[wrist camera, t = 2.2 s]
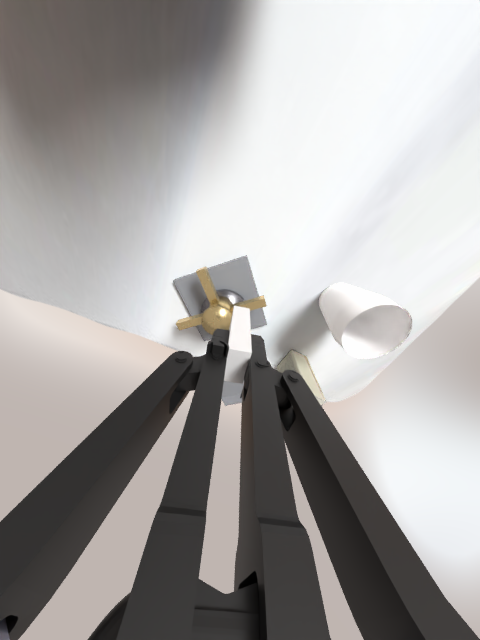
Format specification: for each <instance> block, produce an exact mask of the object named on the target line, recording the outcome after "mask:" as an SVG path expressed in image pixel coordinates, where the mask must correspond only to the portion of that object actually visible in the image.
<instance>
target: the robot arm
mask: <svg viewBox="0 0 480 640" xmlns="http://www.w3.org/2000/svg"><path fill="white" fill-rule="evenodd" d="M224 381H228V382H234V383H240V384H243V381H244V386H243V389H242V392H241V396H240V398H242V421H241V462H240V464H241V465H240V502H239V538H238V546H237V553H236V561H235V581H234V592H232V593H230V594H224V593H222V592H220V591H218V590H216V589H215V588H213V587H211V586H210V585H208V584H206V583H205V582H203V581H201V580H200V579H198V577H199V570H200V563H201V555H202V548H203V540H204V532H205V524H206V509H207V500H208V493H209V486H210V479H211V471H212V464H213V456H214V449H215V442H216V435H217V427H218V420H219V413H220V405H221V398H222V391H223V383H224ZM191 390H195V393H194V396H193V399H192V403H191V406H190V409H189V413H188V416H187V419H186V423H185V426H184V429H183V432H182V436H181V439H180V442H179V446H178V449H177V452H176V456H175V459H174V463H173V466H172V469H171V472H170V476H169V479H168V482H167V485H166V489H165V492H164V495H163V499H162V502H161V504H160V507H159V508H158V511H157V513H156V515H155V518H154V520H153V523H152V527H151V530H150V533H149V536H148V539H147V542H146V545H145V549H144V552H143V555H142V559H141V562H140V565H139V568H138V571H137V575H136V578H135V581H134V584H133V588H132V591H131V593H129V594H128V595H127V596H125V597H124V598H123V599H122V600H121V601H120V602H119V603H118V604H117V605H116V606H115V607H114V608H113V609H112V610H111V611H110V612H109V613H108V615H107V616H106V617H105V618H104V619H103V620H102V622H101V623H100V624H99V626H98V627H97V628H96V629H95V631H94V632H93V633H92V635H91V636H90V637H89V639H88V640H331V638H330V635H329V630H328V625H327V621H326V615H325V610H324V605H323V601H322V595H321V591H320V586H319V581H318V576H317V571H316V566H315V561H314V556H313V551H312V547H311V543H310V539H309V536H308V534H307V531H306V529H305V528H304V526H303V525H302V524H301V523H300V521H299V518H298V515H297V511H296V505H295V499H294V494H293V489H292V482H291V476H290V471H289V465H288V460H287V454H286V448H285V443H286V445H287V448H288V450H289V453H290V456H291V458H292V461H293V464H294V466H295V469H296V471H297V474H298V476H299V479H300V481H301V484H302V487H303V489H304V492H305V494H306V497H307V500H308V502H309V505H310V507H311V510H312V513H313V515H314V518H315V520H316V523H317V526H318V528H319V530H320V533H321V536H322V539H323V541H324V544H325V546H326V549H327V552H328V554H329V557H330V559H331V562H332V564H333V567H334V570H335V572H336V575H337V577H338V580H339V582H340V585H341V588H342V590H343V593H344V595H345V598H346V600H347V603H348V605H349V607H350V610H351V612H352V615H353V617H354V619H355V622H356V624H357V626H358V628H359V630H360V632H361V634H362V637H363V639H364V640H480V639H479V638H478V637H477V635H476V634H475V633H474V632H473V631H472V629H471V628H470V627H469V626H468V625H467V623H466V622H465V621H464V620H463V619H462V618H461V616H460V615H459V614H458V613H457V611H456V610H455V609H454V608H453V607H452V605H451V604H450V603H449V602H448V601H447V599H446V598H445V597H444V595H443V594H442V592H441V591H440V589H439V587H438V586H437V584H436V583H435V581H434V580H433V578H432V577H431V575H430V574H429V572H428V570H427V569H426V567H425V566H424V564H423V563H422V561H421V560H420V558H419V556H418V555H417V554H416V552H415V551H414V549H413V547H412V546H411V544H410V543H409V541H408V540H407V538H406V536H405V535H404V533H403V532H402V530H401V529H400V527H399V526H398V524H397V523H396V521H395V519H394V518H393V516H392V515H391V513H390V512H389V510H388V509H387V507H386V505H385V504H384V502H383V501H382V499H381V498H380V496H379V495H378V493H377V492H376V490H375V488H374V487H373V486H372V484H371V482H370V481H369V479H368V478H367V476H366V474H365V473H364V471H363V470H362V468H361V467H360V465H359V464H358V462H357V461H356V459H355V457H354V456H353V454H352V453H351V451H350V450H349V448H348V447H347V445H346V444H345V442H344V441H343V439H342V437H341V436H340V434H339V433H338V432H337V430H336V428H335V426H334V425H333V423H332V422H331V420H330V419H329V417H328V416H327V414H326V413H325V411H324V409H323V408H322V406H321V405H320V403H319V402H318V400H317V399H316V397H315V396H314V394H313V392H312V391H311V389H310V388H309V386H308V385H307V383H306V382H305V380H304V379H303V377H302V376H301V375H300V374H299V373H298V372H296V371H294V370H285V371H284V372H283V373H281V372H279V371H277V370H275V369H273V368H272V367H271V365H270V363H269V362H268V361H267V358H266V351H265V345H264V340H263V339H262V337H261V336H258V335H252V334H251V325H250V309H249V308H244V307H239V306H234V308H233V313H232V318H231V323H230V327H229V330H224V329H219V328H217V329H216V330H215V331H214V333H213V336H212V340H211V341H209V342H208V345H207V352H206V354H205V355H203V356H200V357H193V356H192V355H191V354H190V353H188V352H185V351H178V352H175V353H173V354H172V355H170V356H169V357H168V358H167V359H166V360H165V361H164V362H163V363H162V364H161V365H160V366H159V367H158V368H157V369H156V370H155V371H154V372H153V373H152V374H151V375H150V376H149V377H148V378H147V379H146V380H145V381H144V382H143V383H142V384H141V385H140V386H139V387H138V388H137V389H136V390H135V391H134V392H133V393H132V394H131V395H130V396H129V397H127V398H126V399H125V400H124V401H123V402H122V403H121V404H120V405H119V406H118V407H117V408H116V409H115V410H114V411H113V412H112V413H111V414H110V415H109V416H108V417H107V418H106V419H105V420H104V421H103V422H102V423H101V424H100V425H99V426H98V427H97V428H96V429H95V430H94V431H93V432H92V433H91V434H90V435H89V436H88V437H87V438H86V439H85V440H83V442H82V443H80V445H78V446H77V447H76V448H75V449H74V450H73V451H72V452H71V453H70V454H69V455H68V456H67V457H66V458H65V459H64V460H63V461H62V462H61V463H60V464H59V465H58V466H57V467H56V468H55V469H54V470H53V471H52V472H51V473H50V474H49V475H48V476H47V477H46V478H45V479H44V480H43V481H42V482H41V483H40V484H38V485H37V486H36V488H34V489H33V490H32V491H31V492H30V493H29V494H28V495H27V496H26V497H25V498H24V499H23V500H22V501H21V502H20V503H19V504H18V505H17V506H16V507H15V508H14V509H13V510H12V511H11V512H10V513H9V514H8V515H7V516H6V517H5V518H4V519H3V520H2V521H1V522H0V640H18V639H19V638H20V637H21V635H22V634H23V633H24V632H25V631H26V630H27V628H28V627H29V626H30V624H31V623H32V622H33V621H34V619H35V618H36V617H37V616H38V614H39V613H40V611H41V610H42V609H43V608H44V607H45V605H46V604H47V603H48V602H49V600H50V599H51V598H52V596H53V595H54V593H55V592H56V590H57V589H58V587H59V586H60V585H61V583H62V582H63V580H64V579H65V578H66V576H67V575H68V573H69V572H70V571H71V569H72V568H73V566H74V565H75V563H76V562H77V560H78V558H79V557H80V555H81V554H82V553H83V551H84V550H85V548H86V547H87V545H88V544H89V542H90V541H91V539H92V538H93V536H94V535H95V533H96V532H97V530H98V528H99V527H100V525H101V524H102V522H103V521H104V519H105V518H106V516H107V515H108V513H109V512H110V510H111V509H112V507H113V506H114V504H115V503H116V501H117V500H118V498H119V497H120V495H121V494H122V492H123V491H124V489H125V488H126V486H127V485H128V483H129V482H130V480H131V479H132V477H133V476H134V474H135V473H136V471H137V470H138V468H139V467H140V465H141V464H142V462H143V461H144V459H145V458H146V456H147V455H148V453H149V452H150V450H151V449H152V447H153V445H154V444H155V443H156V441H157V440H158V438H159V436H160V435H161V434H162V432H163V430H164V429H165V428H166V426H167V425H168V423H169V422H170V420H171V418H172V417H173V415H174V414H175V412H176V411H177V409H178V408H179V406H180V405H181V403H182V402H183V400H184V399H185V397H186V396H187V394H188V393H189V391H191ZM284 440H285V442H284Z"/></svg>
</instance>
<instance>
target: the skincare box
mask: <svg viewBox="0 0 480 640" xmlns="http://www.w3.org/2000/svg"><path fill="white" fill-rule="evenodd" d="M277 369H278V371H279V372H281V373H283V372H284V371H285V370H294V371H296V372H298V373H299V374H300V375H301V376H302V377H303V379H304V380H305V382H306V383H307V385H308V386H309V388H310V389H311V391H312V392H313V394H314V396H315V397H316V399H317V400H318V402H319V403H320V405H321V406H322V405H323V404H324V403H326V400H325V398H324V395H323V393H322V391H321V389H320V386H319V384H318V382H317V380H316V378H315V375H314V373H313V371H312V369H311V366H310V364H309V362H308V360H307V357H306V356H304V355H302V354H300V353H298V352H296V351H294V350H291V351H290V352H289V353H288V354H287V355H286V357H285V358H284V359H283V360H282V361H281V362H280V364H279V365H278V366H277Z"/></svg>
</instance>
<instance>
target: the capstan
mask: <svg viewBox="0 0 480 640" xmlns="http://www.w3.org/2000/svg"><path fill="white" fill-rule="evenodd" d="M196 273H197V275H198V278H199V280H200V282H201V284H202V287H203V289H204V291H205V293H206V296H207V297H206V298H205V300H204V302H203V304H202V307H201V314H198V315H194V316H191V317H187V318H184V319H180V320H178V321H177V323H176V325H177V327H178V329H179V330H182V329H186V328H190V327H193V326H197V325H201V324H202V327H203V328H204V330H205V331H206V332H208V333H209V334H211V335H213V333H214V331H215V330H216V329H217V328H219V329H224V330H229V327H230V323H231V318H232V313H233V308H234V306H239V307H244V308H249V309H250V311H251V310H255V309H258V308H262V307H266V302H265V299H264V295H263V296H260V297H256V298H253V299H249V300H246V301H245V300H244V298H243V297H242V296H241V295H239V294H238V293H236V292H234V291H231V290H227V289H222V290H216V289H215V287H214V284H213V282H212V279H211V277H210V275H209V272H208V270H207V267H203V268H200V269H198V270H197V271H196Z"/></svg>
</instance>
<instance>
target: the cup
mask: <svg viewBox="0 0 480 640" xmlns="http://www.w3.org/2000/svg"><path fill="white" fill-rule="evenodd" d="M319 307H320V309H321V312H322V314H323V316H324V318H325V320H326V323H327V325H328V327H329V329H330V331H331V333H332V336H333V337H334V339H335V340H336V341H337V342H338V343H339V344H340V345H341V347H342V348H343V349H344V350H345V351H346V352H347V353H348V354H349V355H351V356H353V357H355V358H360V359H372V358H377V357H380V356H383V355H386V354H388V353H390V352H391V351H393V350H395V349H396V348H397V347H399V346H400V345H401V344H402V343H403V342H404V341H405V340H406V338H407V337H408V335H409V333H410V331H411V328H412V319H411V316H410V314H409V313H408V311H406V310H405V309H404V308H402V307H401V306H399V305H398V304H396V303H395V302H393V301H392V300H391V299H389V298H387V297H385V296H383V295H380V294H377V293H374V292H371V291H367V290H364V289H361V288H358V287H355V286H352V285H349V284H346V283H336V284H333V285H331V286H329V287H328V288H326V289H325V290H324V291H323V293H322V294H321V296H320V298H319Z"/></svg>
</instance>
